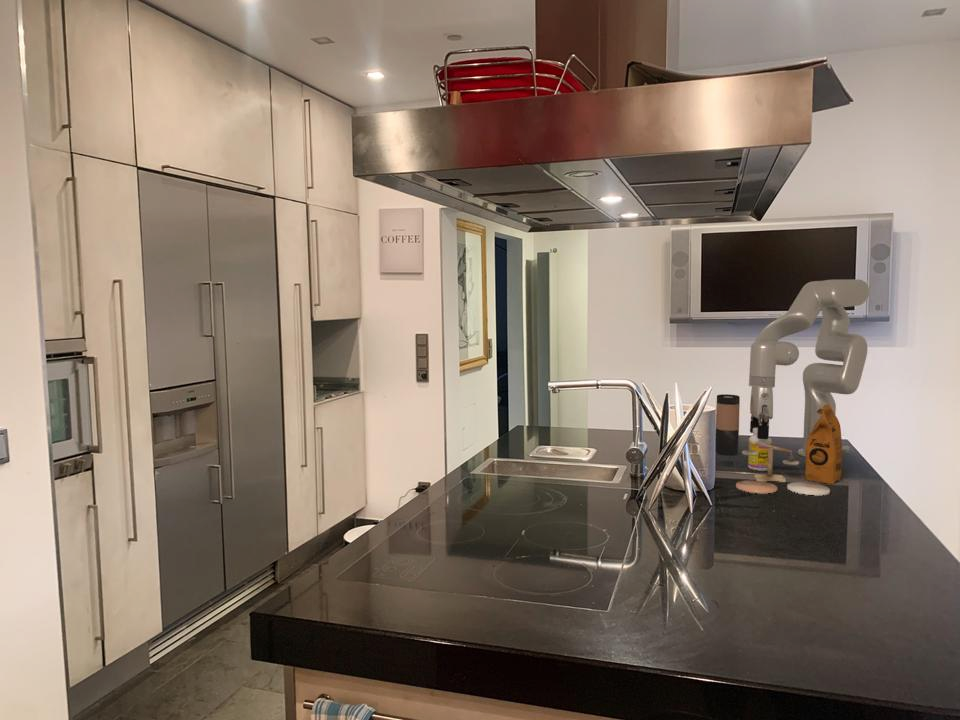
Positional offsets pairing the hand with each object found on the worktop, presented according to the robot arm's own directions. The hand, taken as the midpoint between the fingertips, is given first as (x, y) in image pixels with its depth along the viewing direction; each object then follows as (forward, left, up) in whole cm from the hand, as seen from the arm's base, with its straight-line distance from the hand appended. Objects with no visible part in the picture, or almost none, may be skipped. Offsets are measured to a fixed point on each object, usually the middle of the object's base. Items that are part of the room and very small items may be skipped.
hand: (758, 435), depth 223 cm
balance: (-1, +13, -11) cm, 16 cm away
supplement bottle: (-1, 0, -11) cm, 11 cm away
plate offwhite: (-9, +23, -11) cm, 26 cm away
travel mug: (+5, -21, -11) cm, 25 cm away
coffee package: (-16, +9, -11) cm, 22 cm away
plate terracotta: (+5, +23, -11) cm, 26 cm away
